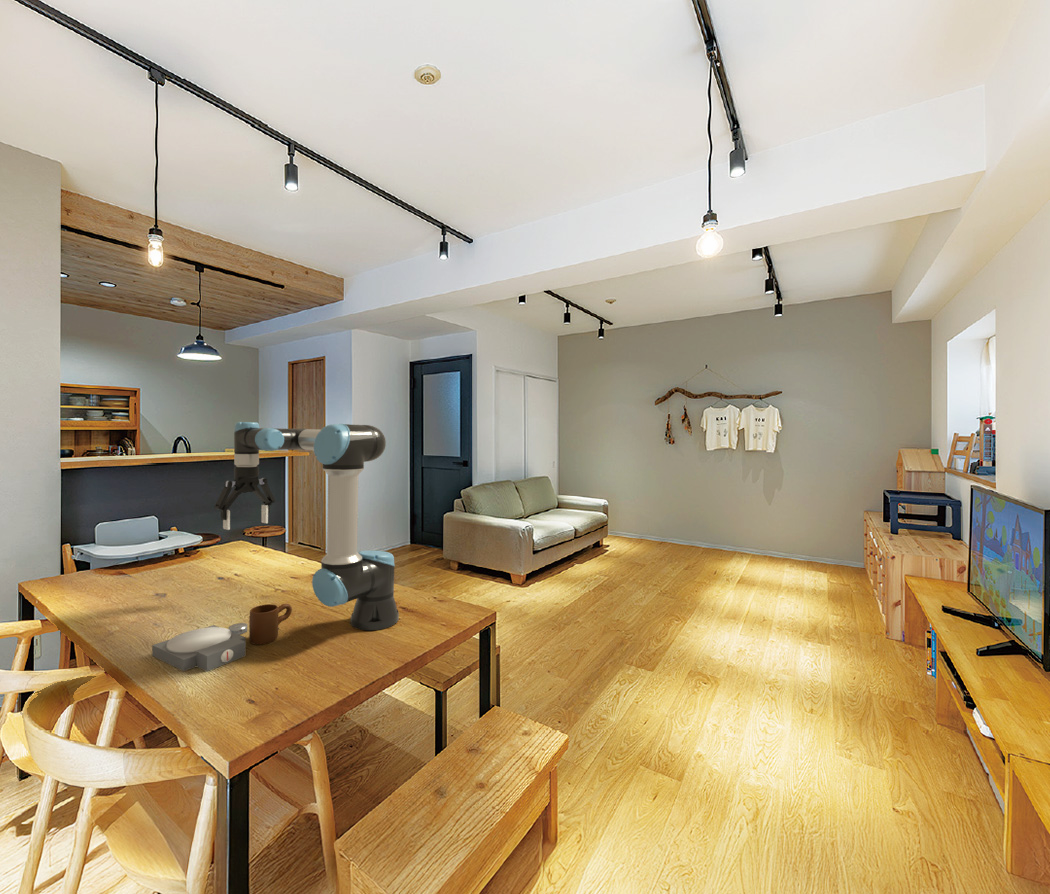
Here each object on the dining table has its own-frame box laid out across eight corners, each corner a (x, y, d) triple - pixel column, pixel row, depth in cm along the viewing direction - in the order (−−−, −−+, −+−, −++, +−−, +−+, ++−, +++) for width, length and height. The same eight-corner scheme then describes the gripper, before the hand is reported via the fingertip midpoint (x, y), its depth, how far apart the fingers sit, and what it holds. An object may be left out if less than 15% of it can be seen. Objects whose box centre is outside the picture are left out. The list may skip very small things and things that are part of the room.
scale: (256, 651, 135) (256, 638, 135) (195, 676, 121) (195, 661, 121) (213, 634, 145) (213, 621, 145) (152, 655, 131) (152, 641, 131)
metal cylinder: (250, 631, 149) (250, 625, 149) (234, 637, 144) (234, 630, 144) (241, 628, 151) (241, 621, 151) (224, 633, 147) (224, 627, 147)
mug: (285, 627, 152) (285, 598, 151) (297, 634, 147) (297, 604, 147) (244, 640, 142) (244, 608, 142) (256, 647, 138) (256, 615, 137)
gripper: (273, 463, 181) (272, 519, 182) (202, 467, 159) (202, 530, 160) (286, 464, 178) (285, 521, 178) (215, 468, 156) (215, 533, 157)
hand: (246, 526), depth 169 cm, fingers open, 13 cm apart
